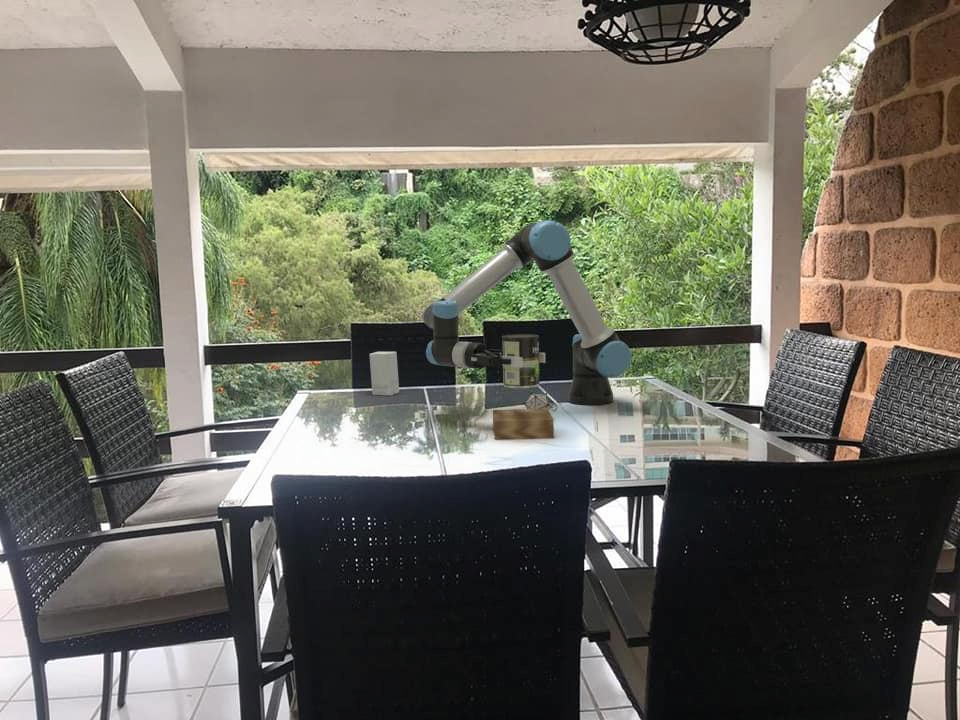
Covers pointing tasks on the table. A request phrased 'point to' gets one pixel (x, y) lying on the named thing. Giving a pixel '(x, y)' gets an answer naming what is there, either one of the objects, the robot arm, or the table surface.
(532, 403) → the game die
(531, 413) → the teak block
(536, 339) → the coffee can
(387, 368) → the skincare box
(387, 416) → the table surface
